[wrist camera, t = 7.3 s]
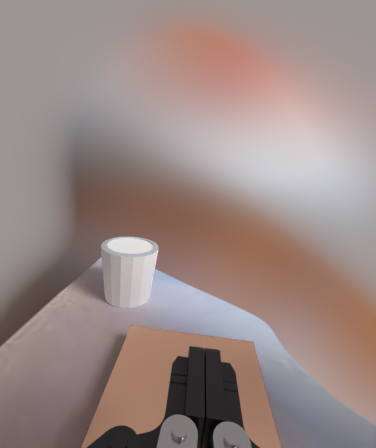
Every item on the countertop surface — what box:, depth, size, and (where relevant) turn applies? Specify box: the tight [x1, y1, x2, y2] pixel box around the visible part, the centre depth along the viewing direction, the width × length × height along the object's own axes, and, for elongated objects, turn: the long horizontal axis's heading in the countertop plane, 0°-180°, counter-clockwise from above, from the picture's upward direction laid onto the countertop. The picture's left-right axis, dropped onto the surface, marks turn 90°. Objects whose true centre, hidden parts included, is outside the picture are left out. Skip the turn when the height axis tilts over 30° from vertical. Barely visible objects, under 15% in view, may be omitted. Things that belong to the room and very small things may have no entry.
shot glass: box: [101, 236, 158, 308], centre depth 33 cm, size 7×7×7 cm
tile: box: [81, 325, 281, 448], centre depth 19 cm, size 2×12×14 cm
